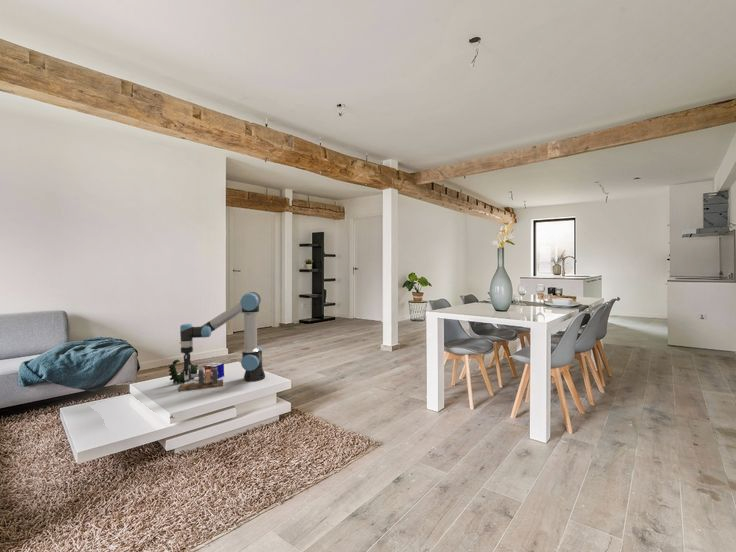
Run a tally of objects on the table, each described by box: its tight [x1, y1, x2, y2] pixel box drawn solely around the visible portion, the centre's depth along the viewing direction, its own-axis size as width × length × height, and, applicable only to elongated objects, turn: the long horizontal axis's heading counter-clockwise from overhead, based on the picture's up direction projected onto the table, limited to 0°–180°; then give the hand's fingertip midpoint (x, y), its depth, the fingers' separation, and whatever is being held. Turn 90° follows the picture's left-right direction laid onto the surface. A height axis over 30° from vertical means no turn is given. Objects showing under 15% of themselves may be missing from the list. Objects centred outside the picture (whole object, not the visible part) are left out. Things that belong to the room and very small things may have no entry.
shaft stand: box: [177, 368, 224, 393], centre depth 267 cm, size 28×12×11 cm, turn 110°
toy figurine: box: [168, 359, 199, 385], centre depth 279 cm, size 9×19×25 cm
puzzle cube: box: [203, 362, 225, 381], centre depth 287 cm, size 10×10×10 cm
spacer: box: [205, 370, 212, 381], centre depth 268 cm, size 3×6×6 cm, turn 20°
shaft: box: [189, 368, 218, 381], centre depth 267 cm, size 22×3×7 cm, turn 110°
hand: (187, 377), depth 264 cm, fingers open, 13 cm apart
